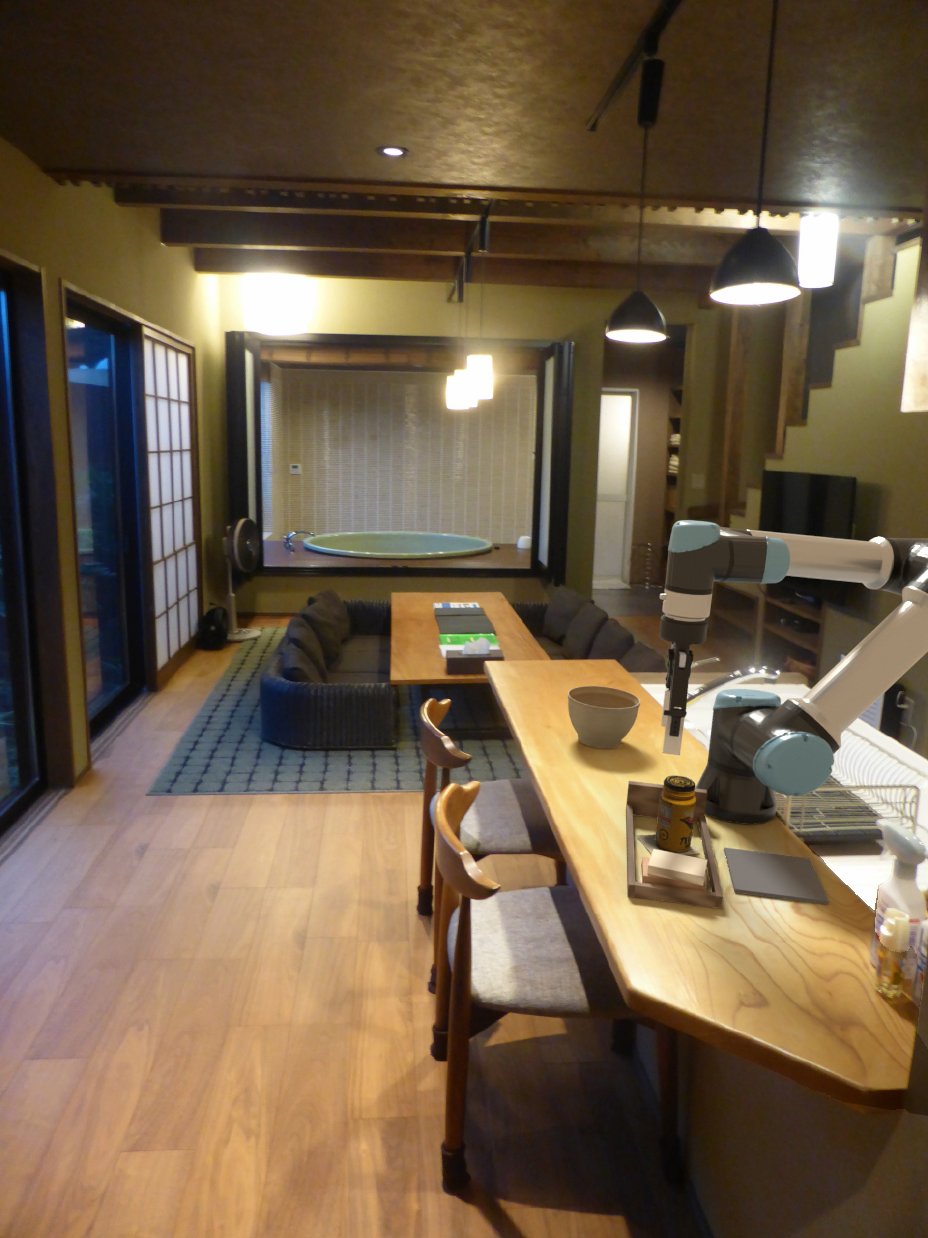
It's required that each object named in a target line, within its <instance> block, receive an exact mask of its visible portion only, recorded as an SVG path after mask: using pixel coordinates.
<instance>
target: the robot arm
mask: <svg viewBox="0 0 928 1238" xmlns="http://www.w3.org/2000/svg"><path fill="white" fill-rule="evenodd" d="M667 547H668V548H667V551H668V553H667V563H666V574H665V575H666V576H665V584H664V593H660V594H659V599H660V600H662V610H661V611H662V613H664V614H663V615H661V616H660V623H659V632H658V635H659V637H660V638H661V639H662V640H664V641H667V642H671V644H670V645H671V646H670V647H668V648H667V655H666V657H667V663H666V666H667V672H666V676H665V688H666V689H665V690H664V699H663V706H662V713H661V722H660V725H661V727H664V728H665V729H664V736H663V745H662V754H665V755H666V754H667V755H674V756H680V755H681V749H682V743H683V741H682V739H683V733H684V726H685V725H684V724H685V718H686V717H687V715H688V712H687V703H688V695H689V694H688V692H689V680H690V678H691V673H692V671H691V670H692V665H693V662H694V653H693V650H692V649H690V646H691V645H701V644H703V643H705V642H706V640H707V634H708V626H709V621H708V620H707V618H709V617H710V615H711V614H710V613H711V605H712V600H713V597H712V596H713V589H714V588H713V587H714V582H717V583H718V582H719V583H721V582H722V583H724V582H725V583H726V582H728V583H744V584H745V583H746V584H759V585H763V584H777V583H779V582H781V581H783V579H784V578H785V577H787V576H788V577H789V576H790V577H797V578H798V577H799V578H807V579H819V580H828V581H829V580H830V581H839V582H840V581H841V582H849V583H850V582H851V583H859V584H860V583H861V584H863V585H864V586H865V587H866V588H867V589H870V590H875V591H884V592H889V593H892V594H894V595H895V594H896V595H898V596H901V598H902V602H901V603H900V604H899V605H898V606H897V607H896V608H895V609H894V610H893V611H892V612H890V614H888V615H887V616H886V617H885V618H884V619H883V620H882V621H881V622H880V623H879V624H878V625H877V626H875V628H874V629H873V630H872V631H870V633H868V634H867V635H866V636H865V637H864V638H863V639H862V640H861V641H860V642H859V643H858V644H857V645H856V646H855V647H854V648H853V649H851V651H849V652H848V654H846V655H844V657H843V658H842V659H841V660H840V661H839V662H838V663H837V664H836V665H835V666H834V667H833V668H832V669H831V670H829V671H828V672H827V674H825V675H824V676H823V677H822V678H821V679H820V680H819V681H818V682H817V683H816V684H815V685H814V686H813V687H812V688H811V689H810V690H809V691H808V692H807V693H806V694H804V695H803V697H797V698H794V697H793V698H792V697H791V698H790V697H789V698H787V699H786V700H784V702H783V703H782V699H781V696H779V695H778V694H776V693H774V692H773V693H772V692H769V691H765V690H758V689H748V688H731V689H730V688H728V689H723V690H721V691H719V692H718V693H717V694H716V696H715V698H714V699H715V700H714V703H713V707H712V710H713V711H712V720H711V728H710V738H709V745H708V755H707V761H706V762H707V763H706V766H705V768H704V770H703V771H702V774H701V775H700V777H699V780H698V782H697V784H696V785H695V786H696V787H695V788H696V789H705V790H707V798H706V806H705V815H707V816H710V817H713V818H714V819H718V820H721V821H726V822H727V823H728V822H729V823H734V824H743V825H760V824H765V823H768V822H770V821H772V820H773V819H774V818H775V817H776V813H777V807H778V806H777V803H778V802H777V797H776V793H778V794H781V795H784V796H792V797H793V796H797V797H798V796H803V795H808V794H810V793H812V792H814V791H816V790H818V789H819V788H821V787H822V786H823V785H825V784H826V782H827V781H828V779H829V778H830V776H832V775H831V774H832V772H833V768H832V767H833V766H834V765H835V764H834V763H835V758H834V757H835V755H834V754H835V753H837V752H838V750H840V748H842V738H841V737H842V736H841V735H842V733H844V732H845V731H846V730H847V729H848V728H849V727H850V726H851V725H852V724H853V723H854V722H855V721H856V720H858V718H860V717H861V716H862V714H864V712H866V711H867V710H868V709H869V708H870V707H871V706H872V705H873V704H874V703H875V702H876V701H877V700H878V699H880V698H881V696H883V695H884V694H885V692H887V691H888V690H889V689H890V688H891V687H892V686H893V685H895V683H896V682H897V681H898V680H899V679H900V678H902V677H903V675H905V674H906V673H907V672H908V671H909V670H910V669H911V668H912V667H913V666H914V665H915V664H916V663H918V662H919V660H920V659H921V658H923V657H924V656H925V655H926V654H927V653H928V538H927V537H926V538H924V537H923V538H922V537H920V538H919V537H916V538H915V537H913V538H912V537H911V538H909V537H906V538H905V537H904V538H900V537H883V536H876V537H873V538H871V539H869V540H868V541H866V540H858V539H848V538H847V539H846V538H838V537H837V538H835V537H827V536H817V535H816V536H815V535H805V534H798V533H797V534H796V533H785V532H776V531H775V532H774V531H764V530H755V529H743V528H734V527H723V526H720V525H719V524H717V523H715V522H711V521H702V520H691V519H688V520H687V519H686V520H684V519H683V520H682V519H681V520H678V521H676V522H675V523H674V524H673V526H672V528H671V533H670V538H669V544H668V546H667ZM775 792H776V793H775Z"/></svg>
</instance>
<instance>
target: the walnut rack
mask: <svg viewBox="0 0 928 1238" xmlns="http://www.w3.org/2000/svg"><path fill="white" fill-rule="evenodd" d="M663 786H664V784H659V783H650V782H643V781H634V780H628V784H627V794H626V795H627V796H626V804H625V833H626V834H625V836H626V837H625V839H626V847H625V848H626V882H627V883H626V885H627V887H626V889H627V892H626V893H627V897H630V898H639V899H645V900H654V901H660V902H661V901H662V902H669V903H677V904H684V905H692V906H700V907H704V908H706V907H707V908H713V909H723V902H724V893H723V890H722V885H721V880H720V876H719V872H718V866H717V863H716V858H715V854H714V849H713V844H712V839H711V836H710V832H709V827H708V822H707V818H706V813H705V806H706V798H707V790H705V789H696V787H695V795H694V796H695V798H696V806H695V813H694V822H693V823H695V824H696V823H697V826H698V830H699V836H700V841H701V840H702V841H701V845H702V851H703V855H705V856H704V859H706V860H707V867H706V872H707V876H708V880H709V885H710V890H711V891H708V890H707V891H701V890H693V889H685V888H678V887H670V886H663V885H655V884H647V883H640V881H639V882H638V881H636V868H635V867H636V866H635V865H636V864H635V839H634V837H635V836H634V816H640V817H647V818H654V819H655V818H656V819H657V818H658V809H659V799H660V794H661V792H662V791H663Z"/></svg>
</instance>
